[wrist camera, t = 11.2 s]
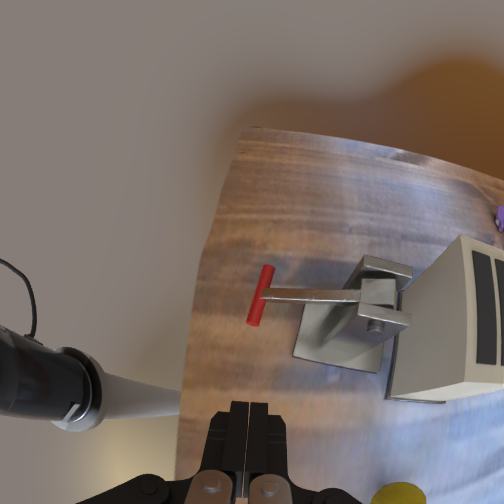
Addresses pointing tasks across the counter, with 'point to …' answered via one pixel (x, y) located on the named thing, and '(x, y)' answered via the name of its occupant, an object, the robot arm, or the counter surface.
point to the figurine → (500, 218)
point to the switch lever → (321, 295)
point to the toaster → (452, 328)
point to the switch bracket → (353, 323)
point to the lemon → (399, 494)
